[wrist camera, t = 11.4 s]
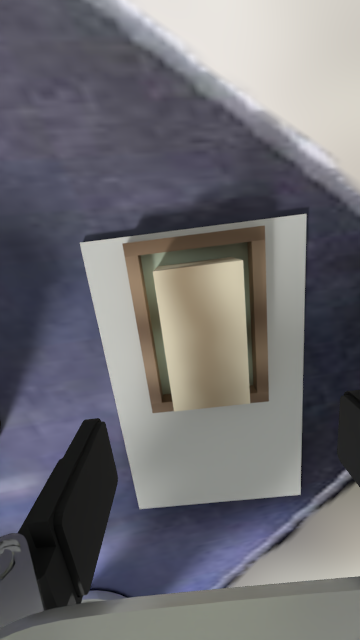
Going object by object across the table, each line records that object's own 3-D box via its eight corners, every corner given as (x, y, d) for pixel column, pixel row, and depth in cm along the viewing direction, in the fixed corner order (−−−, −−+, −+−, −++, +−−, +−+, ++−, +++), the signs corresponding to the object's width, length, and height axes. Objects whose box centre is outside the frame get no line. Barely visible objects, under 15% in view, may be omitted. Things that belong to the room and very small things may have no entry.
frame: (263, 392, 24) (269, 401, 23) (154, 403, 25) (152, 413, 23) (258, 226, 20) (265, 225, 19) (126, 243, 20) (122, 243, 19)
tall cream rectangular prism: (231, 257, 21) (243, 260, 17) (238, 377, 24) (250, 403, 20) (157, 266, 21) (152, 271, 17) (175, 384, 24) (174, 411, 20)
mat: (298, 490, 29) (300, 494, 28) (140, 504, 29) (139, 509, 29) (303, 214, 20) (306, 213, 20) (82, 242, 21) (79, 242, 20)
